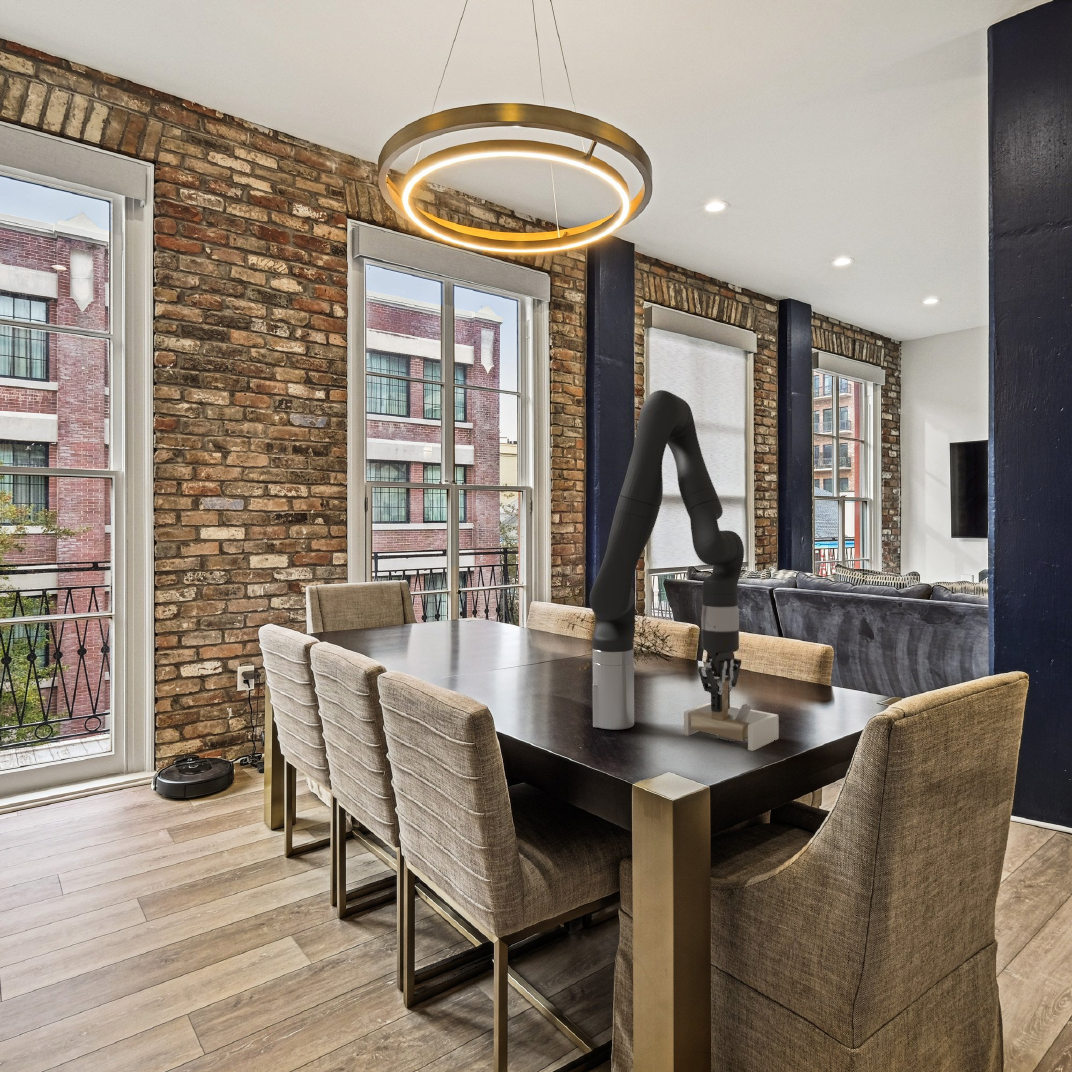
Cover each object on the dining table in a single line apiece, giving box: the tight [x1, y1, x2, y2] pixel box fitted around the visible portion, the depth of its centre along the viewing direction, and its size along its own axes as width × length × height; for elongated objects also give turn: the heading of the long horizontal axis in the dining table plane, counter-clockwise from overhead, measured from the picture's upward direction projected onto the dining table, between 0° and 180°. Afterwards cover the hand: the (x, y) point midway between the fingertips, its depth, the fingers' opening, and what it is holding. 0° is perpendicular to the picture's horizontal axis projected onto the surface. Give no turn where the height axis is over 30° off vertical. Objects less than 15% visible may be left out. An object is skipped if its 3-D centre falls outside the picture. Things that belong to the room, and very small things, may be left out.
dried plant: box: [556, 577, 678, 670], centre depth 213 cm, size 30×31×45 cm
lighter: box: [716, 703, 752, 743], centre depth 152 cm, size 7×2×8 cm, turn 45°
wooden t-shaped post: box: [691, 680, 750, 742], centre depth 152 cm, size 3×12×11 cm, turn 45°
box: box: [683, 701, 780, 752], centre depth 155 cm, size 11×16×5 cm
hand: (720, 709), depth 152 cm, fingers closed on wooden t-shaped post, 2 cm apart
